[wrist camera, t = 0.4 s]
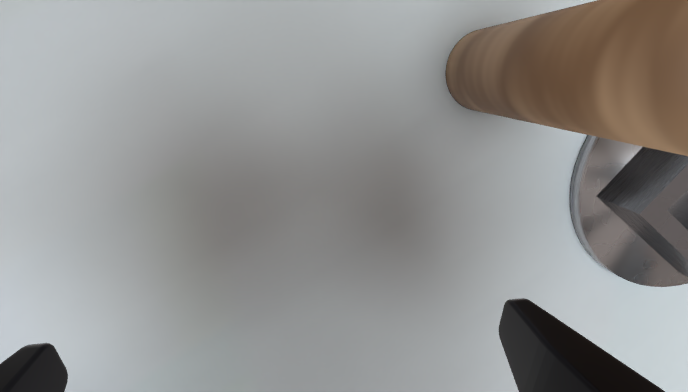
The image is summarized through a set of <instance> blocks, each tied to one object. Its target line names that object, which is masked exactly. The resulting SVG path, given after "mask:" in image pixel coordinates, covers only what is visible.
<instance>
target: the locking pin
mask: <svg viewBox="0 0 688 392" xmlns="http://www.w3.org/2000/svg"><path fill="white" fill-rule="evenodd" d="M446 82H447V86H448V89H449V91H450V93H451V95H452V96H453V98H454V99H455V100H456V101H457V102H458V103H459V104H461V105H462V106H464V107H466V108H468V109H471V110H475V111H480V112H485V113H489V114H494V115H498V116H503V117H508V118H512V119H517V120H522V121H526V122H531V123H536V124H540V125H545V126H550V127H554V128H559V129H564V130H568V131H573V132H578V133H582V134H587V135H592V136H596V137H601V138H605V139H610V140H615V141H619V142H624V143H629V144H633V145H638V146H643V147H647V148H652V149H657V150H661V151H666V152H671V153H675V154H680V155H685V156H688V0H598V1H594V2H590V3H586V4H581V5H577V6H573V7H569V8H565V9H561V10H557V11H553V12H549V13H545V14H541V15H537V16H533V17H528V18H524V19H520V20H516V21H512V22H508V23H504V24H500V25H496V26H492V27H488V28H484V29H480V30H476V31H473V32H471V33H469V34H467V35H466V36H465V37H463V38H462V39H461V40H460V41H459V42H458V43H457V44H456V45H455V47H454V48H453V50H452V51H451V53H450V56H449V58H448V61H447V65H446Z"/></svg>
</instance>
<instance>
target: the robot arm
mask: <svg viewBox="0 0 688 392" xmlns="http://www.w3.org/2000/svg"><path fill="white" fill-rule="evenodd" d="M499 336H500V340H501V343H502V345H503V348H504V351H505V354H506V357H507V359H508V362H509V365H510V368H511V371H512V373H513V376H514V379H515V382H516V385H517V387H518V390H519V392H665V391H663V390H662V389H661V388H659V387H658V386H656V385H655V384H653V383H652V382H650V381H649V380H647V379H646V378H644V377H643V376H641V375H640V374H638V373H637V372H635V371H634V370H632V369H631V368H629V367H628V366H626V365H625V364H623V363H622V362H620V361H619V360H617V359H616V358H614V357H613V356H612V355H610V354H609V353H607V352H606V351H604V350H603V349H601V348H600V347H598V346H597V345H595V344H594V343H592V342H591V341H589V340H588V339H586V338H585V337H583V336H582V335H580V334H579V333H577V332H576V331H574V330H573V329H571V328H570V327H568V326H567V325H565V324H564V323H562V322H561V321H560V320H558V319H557V318H555V317H554V316H552V315H551V314H549V313H548V312H546V311H545V310H543V309H542V308H540V307H539V306H537V305H536V304H534V303H533V302H531V301H530V300H528V299H524V298H523V299H512V300H507V301H506V303H505V305H504V308H503V312H502V316H501V320H500V325H499ZM67 379H68V374H67V370H66V367H65V366H64V364H63V362H62V360H61V358H60V356H59V355H58V353H57V351H56V349H55V347H54V346H53V345H51V344H49V343H43V344H32V345H27V346H25V347H23V348H21V349H20V350H18V351H17V352H16V353H14V354H13V355H12V356H10V357H9V358H8V359H6V360H5V361H4V362H2V363H1V364H0V392H64V391H65V388H66V385H67Z"/></svg>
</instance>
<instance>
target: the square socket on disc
mask: <svg viewBox="0 0 688 392" xmlns="http://www.w3.org/2000/svg"><path fill="white" fill-rule="evenodd" d="M570 209H571V216H572V221H573V224H574V228H575V231H576V233H577V236H578V238H579V240H580V242H581V244H582V245H583V246H584V248H585V249H586V251H587V252H588V253H589V254H590V255H591V256H592V257H593V258H594V259H595V260H596V261H597V262H598V263H600V264H601V265H602V266H604V267H605V268H607V269H608V270H610V271H611V272H613V273H614V274H616V275H618V276H620V277H622V278H624V279H626V280H628V281H630V282H634V283H637V284H640V285H646V286H655V287H667V286H677V285H682V284H687V283H688V156H685V155H680V154H675V153H671V152H666V151H661V150H657V149H652V148H647V147H643V146H638V145H633V144H629V143H624V142H619V141H615V140H610V139H605V138H601V137H596V136H592V135H588V136H587V138H586V140H585V142H584V144H583V146H582V148H581V150H580V153H579V156H578V158H577V161H576V164H575V168H574V172H573V176H572V181H571V189H570Z"/></svg>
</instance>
